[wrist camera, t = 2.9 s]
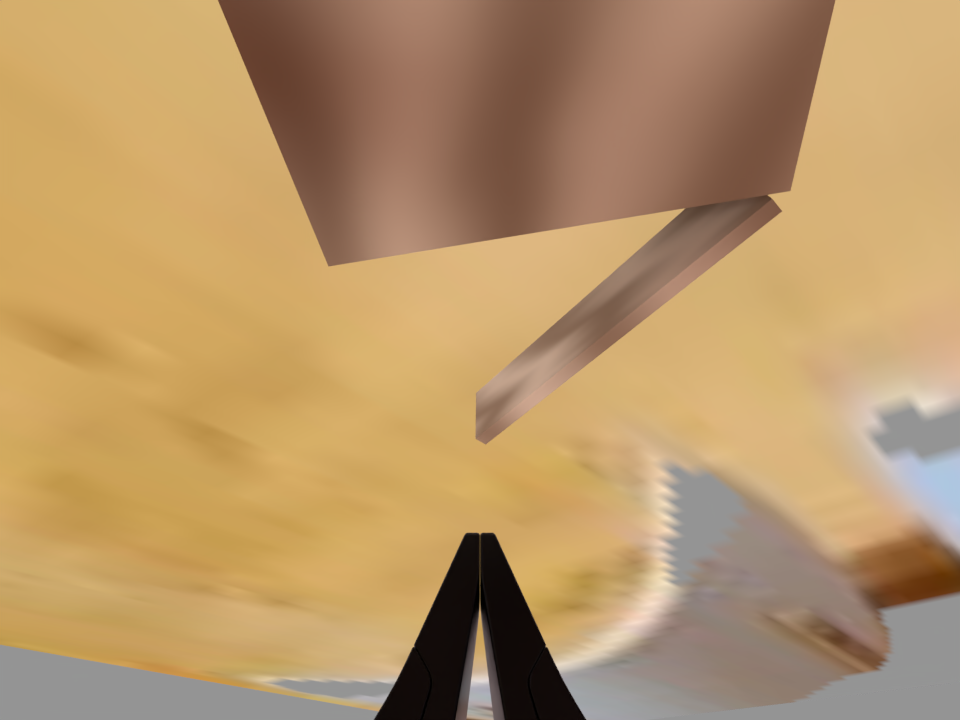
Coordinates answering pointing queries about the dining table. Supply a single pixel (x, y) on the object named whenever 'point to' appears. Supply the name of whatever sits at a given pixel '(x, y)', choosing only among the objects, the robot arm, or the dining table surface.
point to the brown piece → (525, 110)
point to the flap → (619, 306)
